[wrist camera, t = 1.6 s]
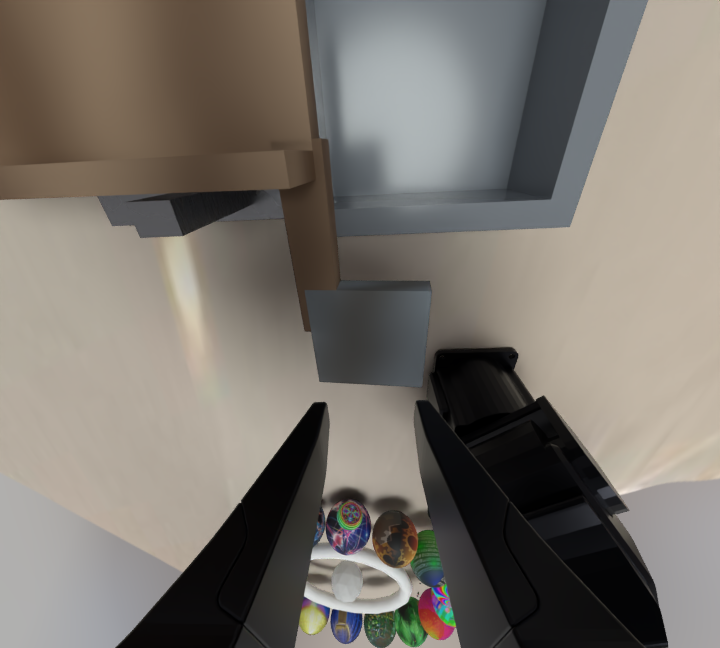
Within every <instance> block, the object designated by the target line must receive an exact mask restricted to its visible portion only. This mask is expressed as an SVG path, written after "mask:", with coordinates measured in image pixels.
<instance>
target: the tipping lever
mask: <svg viewBox="0 0 720 648" xmlns="http://www.w3.org/2000/svg"><path fill="white" fill-rule="evenodd" d="M268 189H279V192H280V198H281V203H282V209H283V214H284V220H285V225H286V231H287V236H288V242H289V247H290V253H291V259H292V264H293V270H294V275H295V281H296V286H297V292H298V297H299V303H300V308H301V314H302V319H303V325H304V330H305V331H309V332H311V333H312V339H313V345H314V351H315V357H316V363H317V369H318V375H319V381H320V382H332V383H350V384H368V385H387V386H405V387H422V383H423V373H424V363H425V353H426V343H427V334H428V324H429V314H430V304H431V294H432V290H431V286H430V281H345V280H341V279H340V267H339V256H338V245H337V233H336V222H335V211H334V199H333V188H332V177H331V165H330V154H329V143H328V139H322V138H319V131H318V121H317V112H316V102H315V92H314V82H313V72H312V63H311V53H310V43H309V33H308V24H307V14H306V4H305V0H0V200H5V199H31V198H57V197H84V196H110V195H136V194H163V193H189V192H215V191H242V190H268Z"/></svg>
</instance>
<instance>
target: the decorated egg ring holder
mask: <svg viewBox="0 0 720 648" xmlns="http://www.w3.org/2000/svg"><path fill="white" fill-rule="evenodd" d="M324 529H325V515H324V511H323V509H322V507H321V506H320V510H319V516H318V521H317V527H316V532H315V538H314V543H313V549H312V554H311V560H314V559H342V560H347V561H342V562H340V563H339V564H338V565H337V566H336V567H335V569H334V572H333V575H332V577H331V580H332V590H333V592H334V594H333V593H330V592H327V591H325V590H322V589H319V588H317V587H316V586H314V585H312V584H311V583H309V582H308V581H307V582H306V587H305V593H304V598H303V604H302V609H301V615H300V620H299V625H300V627H301V629H302V630H303V631H304V632H305V633H306V634H308V635H315V634H317V633H319V632H320V631H321V630H322V629H323V628H324V627H325V625H326V624H327V621H328V618H329V614H330V608H332V609H333V610H332V614H331V629H332V632H333V635H334V636H335V638H336V639H337V640H338V641H339V642H341V643H343V644H349V643H351V642H353V641H354V640H355V639H356V638H357V637H358V635H359V633H360V631H361V628H362V613H365V616H364V629H365V633H366V636H367V638H368V640H369V641H370V643H371V644H373V645H374V646H375V647H377V648H385V647H387V646H388V645H389V644H391V642H392V641H393V639H394V637H395V634H396V631H397V633H398V635H399V637H400V639H401V640H402V641H403V642H404V643H405V644H406V645H408V646H410V647H417V646H420V645H421V644H422V643H423V642H424V641H425V639H426V638H427V635H428V634H429V635H430V636H431V637H432V638H434V639H437V640H445V639H446V638H448V637H449V636H450V635H451V634H452V632H453V631H454V628H456V624H455V620H454V615H453V611H452V607H451V603H450V598H449V594H448V590H447V586H446V581H445V577H444V573H443V569H442V564H441V560H440V556H439V552H438V547H437V543H436V539H435V535H434V531H432V530H424V531H421V532H419V533H418V534H417V532H416V529H415V526H414V524H413V522H412V521H411V520H410V519H409V517H408V516H406V515H405V514H403V513H402V512H399V511H388V512H385V513H384V514H382V515H381V516H380V517H379V518H378V519H377V521H376V523H375V525H374V528H373V533H372V541H373V547H374V549H375V551H374V550H371V549H369V548H366V547H364V546H365V545H366V543H367V542H368V539H369V537H370V532H371V521H370V516H369V514H368V511H367V510H366V508H365V507H364V506H363V505H362V504H361V503H360V502H358V501H356V500H353V499H344V500H342V501H339V502H338V503H337V504H335V505H334V506H333V508H332V509H331V510H330V512H329V514H328V517H327V520H326V535H327V539H328V541H329V543H318V542H319V541H320V539H321V537H322V535H323V533H324ZM352 561H353V562H352ZM354 562H359V563H363V564H365V565H368V566H370V567H373V568H375V569H378V570H381V571H383V572H384V573H386V574H387V575H389V576H390V577H391V578H393V579H394V580H396V581H397V583H398V584H399V586H400V588H399V590H398V591H396V592H395V593H393V594H392V595H390V596H386V597H381V598H376V599H359V598H357V597H358V596H359V595H360V592H361V588H362V585H363V579H362V572H361V570H360V568H359V567H358V565H357V564H356V563H354ZM409 563H410V564H411V567H412V570H413V572H414V574H415V575H416V577H417V578H418V579H419V580H420V581H421V582H422V583H423V584H425V585H427V586H429V587H432V588H429V589H427V590H425V591H424V592H423V594H422V595H421V597H419V598H420V600H417V599H416V598H413V597H410V595H411V593H412V589H413V586H412V582H411V580H410V578H409V576H408V575H407V573H406V571H405V569H404V568H403V567H404V566H406V565H408V564H409ZM420 584H421V583H420ZM418 595H419V592H418ZM418 595H417V597H418ZM394 610H395V613H394Z"/></svg>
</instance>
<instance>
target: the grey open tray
mask: <svg viewBox="0 0 720 648" xmlns="http://www.w3.org/2000/svg"><path fill="white" fill-rule="evenodd" d="M647 2H648V0H305V4H306V14H307V24H308V33H309V43H310V53H311V63H312V72H313V82H314V92H315V102H316V112H317V121H318V131H319V138H322V139H328V143H329V154H330V165H331V177H332V188H333V199H334V211H335V222H336V233H337V237H342V236H366V235H390V234H414V233H438V232H462V231H487V230H511V229H535V228H559V227H570V225H571V222H572V219H573V216H574V213H575V210H576V207H577V205H578V202H579V199H580V196H581V193H582V190H583V187H584V184H585V181H586V178H587V176H588V173H589V170H590V167H591V164H592V161H593V158H594V155H595V152H596V150H597V147H598V144H599V141H600V138H601V135H602V132H603V129H604V126H605V124H606V121H607V118H608V115H609V112H610V109H611V106H612V103H613V100H614V97H615V95H616V92H617V89H618V86H619V83H620V80H621V77H622V74H623V71H624V69H625V66H626V63H627V60H628V57H629V54H630V51H631V48H632V45H633V42H634V40H635V37H636V34H637V31H638V28H639V25H640V22H641V19H642V16H643V14H644V11H645V8H646V5H647Z"/></svg>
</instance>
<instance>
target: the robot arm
mask: <svg viewBox="0 0 720 648" xmlns="http://www.w3.org/2000/svg"><path fill="white" fill-rule="evenodd" d="M511 354H512V355H511ZM509 355H511V356H509ZM440 356H443V357H440ZM517 359H518V353H517V352H516V350H515V349H512V348H509V349H469V350H440V351H438V352H437V353H436V354H435V360H434V368H433V373H430V375H429V379H428V388H427V398H428V400H418V401H416V402H415V411H414V428H415V436H416V444H417V453H418V461H419V468H420V474H421V479H422V484H423V488H424V492H425V496H426V501H427V505H428V515H429V517H430V519H431V523H432V526H433V530H434V535H435V539H436V543H437V547H438V552H439V556H440V560H441V564H442V569H443V573H444V577H445V581H446V586H447V590H448V594H449V598H450V603H451V607H452V611H453V615H454V620H455V624H456V628H457V632H458V637H459V641H460V645H461V648H668V641H667V637H666V632H665V628H664V623H663V619H662V615H661V611H660V608H659V604H658V598H657V592H656V587H655V584H654V581H653V579H652V577H651V575H650V573H649V571H648V569H647V567H646V565H645V563H644V561H643V559H642V557H641V555H640V553H639V551H638V549H637V547H636V545H635V543H634V541H633V539H632V537H631V536H630V534H629V533H628V531H627V530H626V528H625V527H624V526H623V524H622V523H621V522H620V520H619V519H618V517H617V516H616V515H615V514H620V513H623V512H627V511H629V509H628V507H627V506H626V504H625V503H624V501H623V500H622V499H621V497H620V496H619V494H618V493H617V491H616V490H615V488H614V487H613V485H612V484H611V482H610V481H609V480H608V478H607V477H606V475H605V474H604V472H603V471H602V469H601V468H600V466H599V465H598V464H597V462H596V461H595V460H594V458H593V457H592V456H591V454H590V453H589V452H588V450H587V449H586V448H585V446H584V445H583V444H582V442H581V441H580V440H579V439H578V437H577V436H576V435H575V433H574V432H573V431H572V429H571V428H570V427H569V426H568V424H567V423H566V422H565V421H564V420H563V418H562V417H561V416H560V415H559V413H558V412H557V411H556V410H555V408H554V407H553V406H552V405H551V403H550V402H549V401H548V400H547V399H546V397H545V396H542V397H540V398H538V399H536V401H535V400H534V399H533V397H532V396H531V394H530V393H529V391H528V390H527V388H526V387H525V386H524V384H523V383H522V381H521V380H520V378H519V377H518V375H517V374H516V372H515V371H514V368H515V365H516V362H517ZM329 426H330V421H329V413H328V407H327V403H326V402H315V403H313V404H312V405H311V407H310V408H309V409H308V411H307V412H306V414H305V415H304V416H303V418H302V419H301V420H300V422H299V423H298V424H297V426H296V427H295V428H294V430H293V431H292V432H291V434H290V435H289V436H288V438H287V439H286V441H285V442H284V443H283V445H282V446H281V447H280V449H279V450H278V451H277V453H276V454H275V455H274V457H273V458H272V459H271V461H270V462H269V463H268V465H267V466H266V468H265V469H264V470H263V472H262V473H261V474H260V476H259V477H258V478H257V480H256V481H255V482H254V484H253V485H252V486H251V488H250V489H249V490H248V492H247V493H246V495H245V496H244V497H243V499H242V500H241V503H239V504H238V505H237V506H236V508H235V509H234V511H233V512H232V513H231V515H230V516H229V517H228V519H227V520H226V521H225V522H224V524H223V525H222V526H221V528H220V529H219V530H218V531H217V533H216V534H215V535H214V537H213V538H212V539H211V540H210V541H209V543H208V544H207V545H206V546H205V547H204V549H203V550H202V551H201V552H200V553H199V555H198V556H197V557H196V558H195V559H194V560H193V562H192V563H191V564H190V565H189V566H188V567H187V569H186V570H185V571H184V572H183V573H182V574H181V575H180V577H179V578H178V579H177V580H176V581H175V582H174V583H173V585H172V586H171V587H170V588H169V589H168V590H167V592H166V593H165V594H164V595H163V596H162V597H161V598H160V600H159V601H158V602H157V603H156V604H155V605H154V606H153V608H152V609H151V610H150V611H149V612H148V613H147V614H146V616H145V617H144V618H143V619H142V620H141V621H140V622H139V623H138V625H137V626H136V627H135V628H134V629H133V630H132V631H131V632H130V633H129V634H128V635H127V636H126V637H125V639H124V640H123V641H122V642H121V643H120V644H119V645H118V646H117V647H115V648H294V647H295V641H296V636H297V631H298V626H299V620H300V615H301V609H302V604H303V598H304V593H305V587H306V582H307V576H308V571H309V565H310V560H311V554H312V549H313V543H314V538H315V532H316V527H317V521H318V516H319V510H320V505H321V499H322V494H323V488H324V483H325V477H326V468H327V455H328V441H329Z"/></svg>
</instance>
